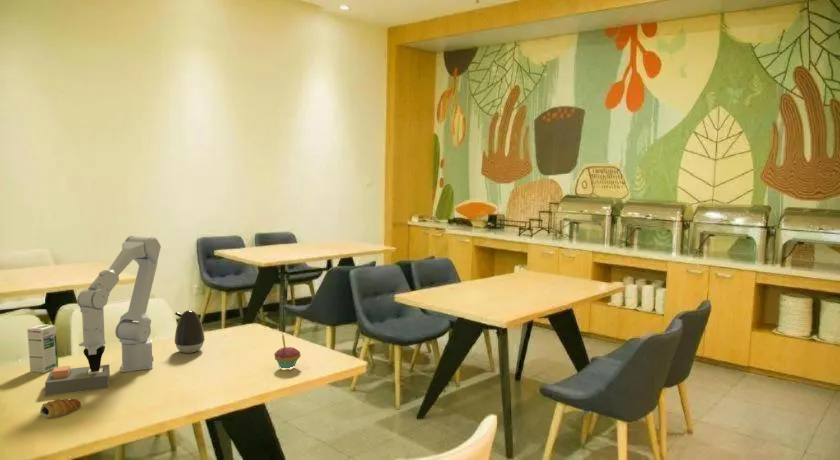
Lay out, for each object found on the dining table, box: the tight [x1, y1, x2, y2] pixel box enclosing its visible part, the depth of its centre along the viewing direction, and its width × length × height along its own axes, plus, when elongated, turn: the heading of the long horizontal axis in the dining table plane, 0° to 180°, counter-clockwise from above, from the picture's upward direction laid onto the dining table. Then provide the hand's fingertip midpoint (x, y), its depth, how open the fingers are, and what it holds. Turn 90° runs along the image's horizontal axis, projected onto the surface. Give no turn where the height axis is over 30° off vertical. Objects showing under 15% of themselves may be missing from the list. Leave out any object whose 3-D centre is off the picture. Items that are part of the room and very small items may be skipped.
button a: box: [87, 368, 103, 374], centre depth 181 cm, size 4×4×4 cm
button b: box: [52, 365, 71, 378], centre depth 177 cm, size 4×4×4 cm
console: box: [44, 364, 111, 397], centre depth 179 cm, size 16×11×4 cm
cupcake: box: [273, 332, 301, 368], centre depth 198 cm, size 9×8×12 cm
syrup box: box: [26, 323, 59, 374], centre depth 193 cm, size 6×6×14 cm
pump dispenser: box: [174, 309, 205, 354], centre depth 214 cm, size 10×10×15 cm
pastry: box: [39, 398, 82, 419], centre depth 161 cm, size 9×7×4 cm
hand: (95, 370), depth 181 cm, fingers closed, pressing on button a
